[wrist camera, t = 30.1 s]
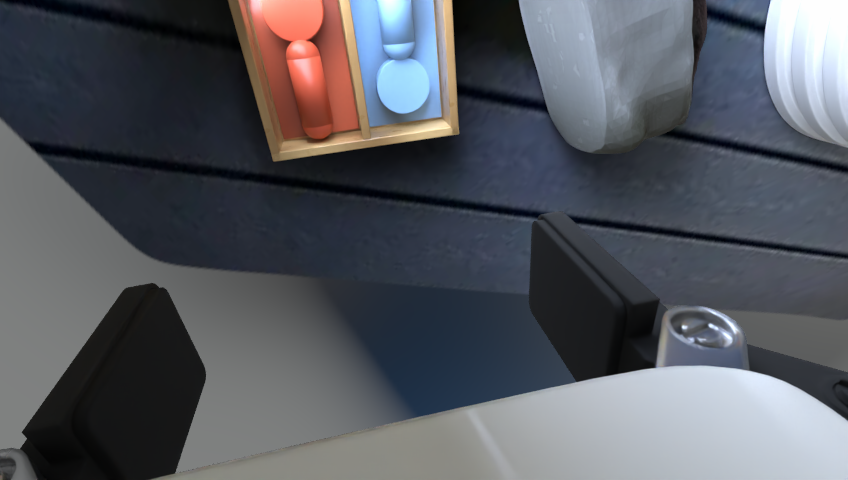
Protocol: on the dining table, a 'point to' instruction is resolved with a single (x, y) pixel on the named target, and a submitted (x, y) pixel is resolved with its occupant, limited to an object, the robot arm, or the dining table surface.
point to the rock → (615, 66)
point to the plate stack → (809, 66)
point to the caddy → (350, 77)
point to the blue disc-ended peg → (400, 60)
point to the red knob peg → (303, 59)
